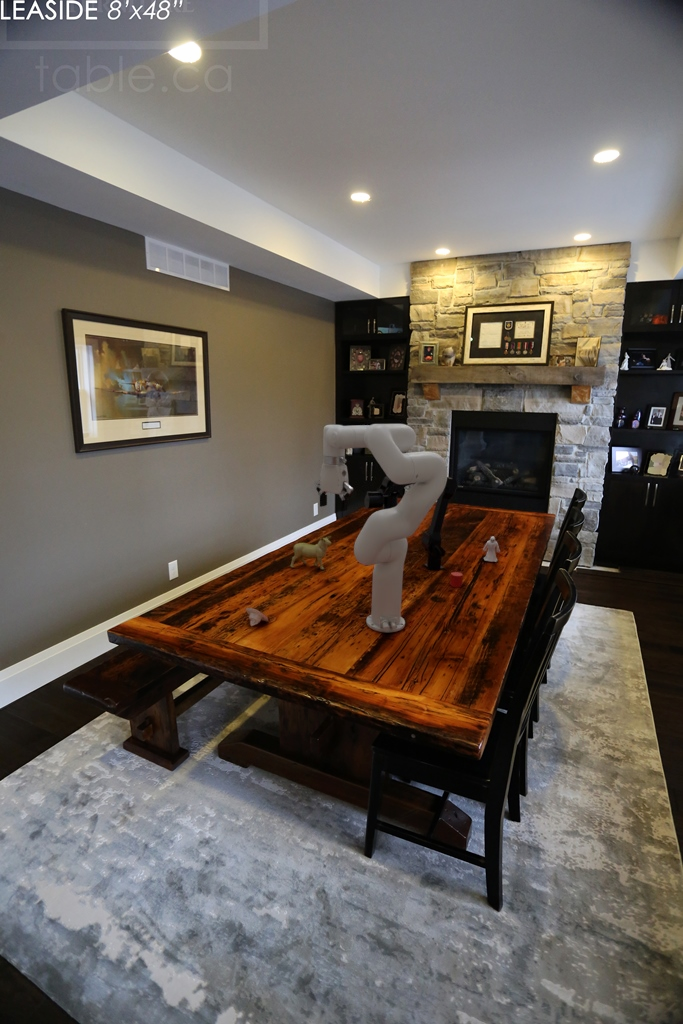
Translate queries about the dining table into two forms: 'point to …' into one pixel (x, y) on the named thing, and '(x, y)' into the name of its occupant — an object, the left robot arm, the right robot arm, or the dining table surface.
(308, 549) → the toy
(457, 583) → the can
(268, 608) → the dining table surface
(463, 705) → the dining table surface
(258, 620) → the seashell
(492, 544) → the figurine
